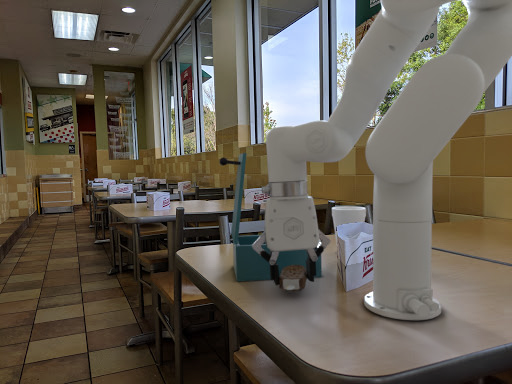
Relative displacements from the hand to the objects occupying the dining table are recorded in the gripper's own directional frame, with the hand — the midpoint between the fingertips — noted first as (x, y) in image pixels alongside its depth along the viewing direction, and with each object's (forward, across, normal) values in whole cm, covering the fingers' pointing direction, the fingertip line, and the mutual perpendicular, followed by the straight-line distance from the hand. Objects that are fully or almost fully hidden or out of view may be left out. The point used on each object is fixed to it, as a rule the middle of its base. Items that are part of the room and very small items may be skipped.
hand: (293, 280), depth 74 cm
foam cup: (+3, +23, +32) cm, 39 cm away
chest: (+2, -1, +17) cm, 17 cm away
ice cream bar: (+1, 0, 0) cm, 1 cm away
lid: (-16, -8, +16) cm, 25 cm away
